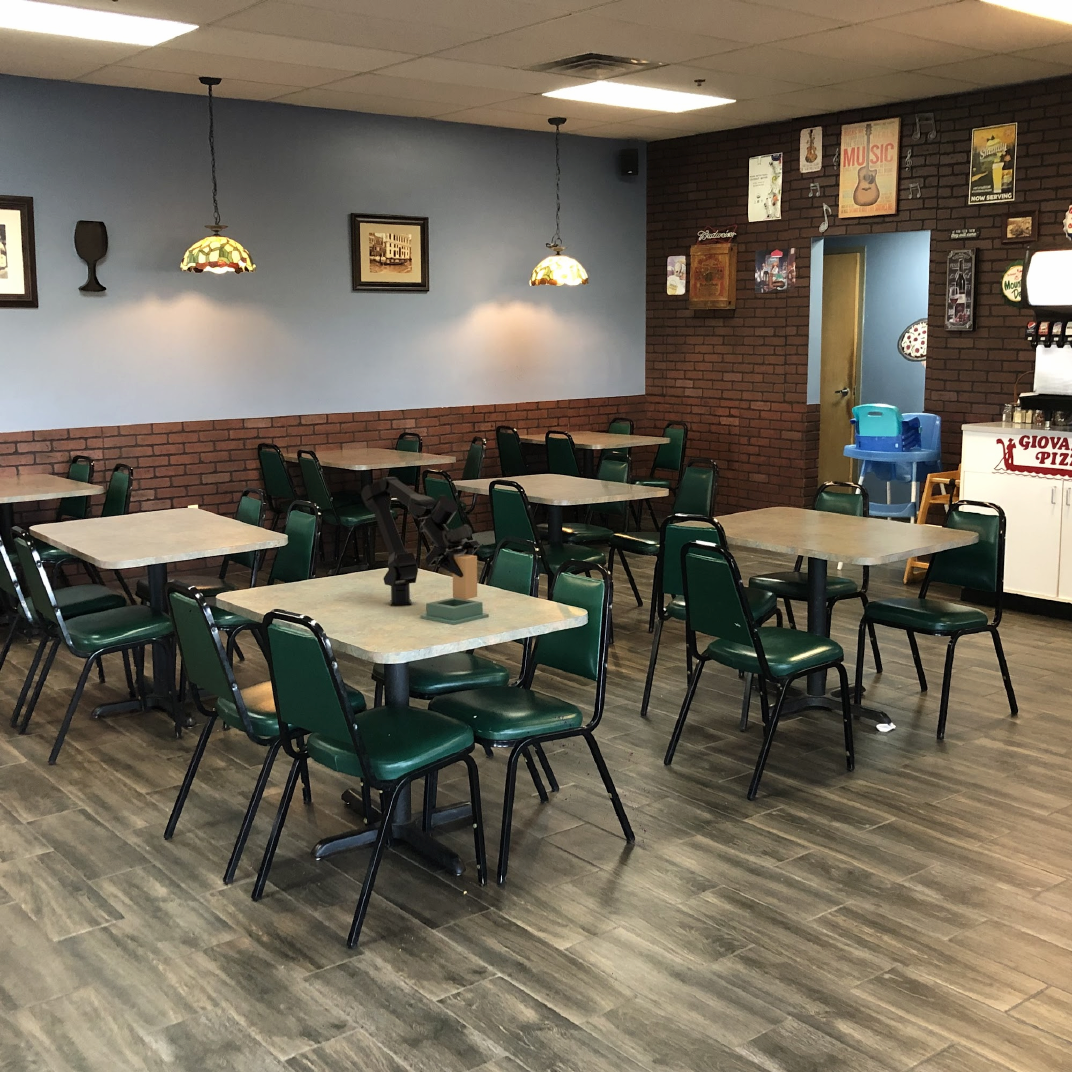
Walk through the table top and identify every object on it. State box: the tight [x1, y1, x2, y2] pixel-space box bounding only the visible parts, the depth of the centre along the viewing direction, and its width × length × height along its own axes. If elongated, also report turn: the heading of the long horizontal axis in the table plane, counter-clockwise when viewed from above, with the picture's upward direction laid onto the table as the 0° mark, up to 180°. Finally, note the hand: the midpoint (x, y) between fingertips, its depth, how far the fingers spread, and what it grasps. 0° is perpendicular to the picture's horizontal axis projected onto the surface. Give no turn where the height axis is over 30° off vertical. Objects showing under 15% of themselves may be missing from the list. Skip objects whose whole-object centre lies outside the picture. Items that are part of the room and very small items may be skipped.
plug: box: [452, 554, 478, 600], centre depth 350 cm, size 5×5×12 cm
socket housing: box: [419, 597, 490, 626], centre depth 350 cm, size 14×14×4 cm
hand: (468, 575), depth 349 cm, fingers closed on plug, 5 cm apart
